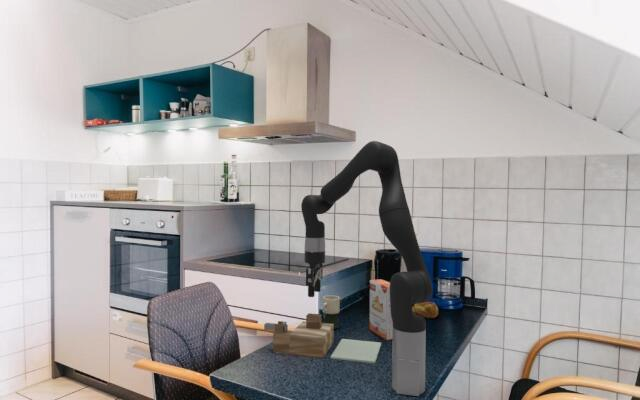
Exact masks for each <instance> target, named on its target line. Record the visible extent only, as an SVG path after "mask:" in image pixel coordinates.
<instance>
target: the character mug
mask: <svg viewBox="0 0 640 400" xmlns="http://www.w3.org/2000/svg"><path fill="white" fill-rule="evenodd" d="M340 299H341V297H340V296H339V295H332V294H331V295H324V296H322V312H323V313H324V319H323V323H327V324H334V329H335V330H336V329H338V328H339V319H338V314H339V313H340V310H341V309H340V307H341V306H340V302H341V301H340Z"/></svg>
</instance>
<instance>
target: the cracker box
mask: <svg viewBox="0 0 640 400" xmlns="http://www.w3.org/2000/svg"><path fill="white" fill-rule="evenodd" d="M369 330H370V331H371V332H372V333H374V334H376V335H378V336H379V337H380V338H382V339H383V340H385V341H391V340H392V341H393V321H392V317H391V309H390V281H387V280H384V279H382V278H381V279H380V278H379V279H370V280H369Z"/></svg>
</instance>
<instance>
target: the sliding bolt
mask: <svg viewBox="0 0 640 400" xmlns="http://www.w3.org/2000/svg"><path fill="white" fill-rule="evenodd" d="M286 322H287V321H283V322H282V324H283V332H286V331H287V330H288V329H289V327H288V326H289V325H288V324H287V325H286ZM275 324H276V323H272V322H265V323H264V327H263V328H264V329H263V330H264V331H268V332H269V331H270V332H275Z"/></svg>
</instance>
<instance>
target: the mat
mask: <svg viewBox="0 0 640 400" xmlns="http://www.w3.org/2000/svg"><path fill="white" fill-rule="evenodd" d="M381 347H382V342H377V341H370V340H367V341H366V340H357V339H350V338H349V339H346V338H341V340H340V341H339V343H338V345H337V346H336V347H335V349H334V351H332V354H331V356H330V359H331V360H332V359H333V360H341V361H349V362H358V363H359V362H360V363H367V364H368V363H369V364H376V362H377V359H378V356H379V352H380V349H381Z"/></svg>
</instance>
